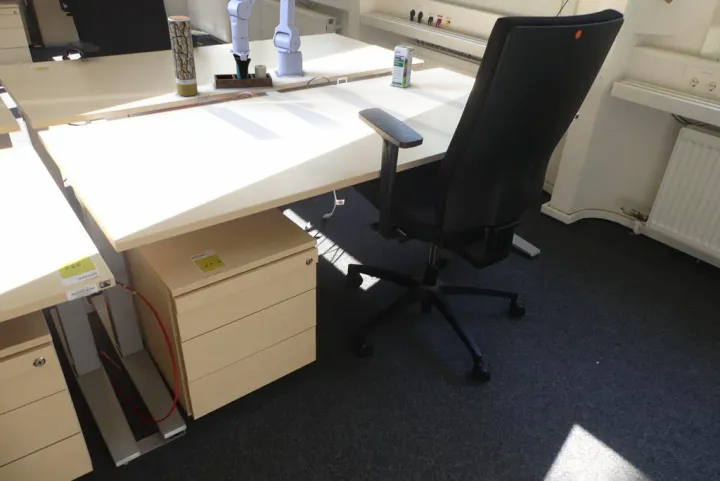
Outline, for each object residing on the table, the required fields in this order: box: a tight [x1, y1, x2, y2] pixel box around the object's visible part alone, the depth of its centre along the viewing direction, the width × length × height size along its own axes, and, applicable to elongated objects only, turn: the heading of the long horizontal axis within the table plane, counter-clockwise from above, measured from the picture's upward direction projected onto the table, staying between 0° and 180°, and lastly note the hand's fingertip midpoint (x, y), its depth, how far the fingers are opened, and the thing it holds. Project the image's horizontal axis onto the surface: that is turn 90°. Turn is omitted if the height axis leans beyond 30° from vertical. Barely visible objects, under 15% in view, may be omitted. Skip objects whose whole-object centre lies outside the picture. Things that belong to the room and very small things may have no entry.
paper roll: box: [235, 62, 250, 79], centre depth 196 cm, size 4×4×6 cm
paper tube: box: [167, 15, 199, 97], centre depth 181 cm, size 7×7×25 cm
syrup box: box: [390, 44, 415, 88], centre depth 206 cm, size 6×6×14 cm
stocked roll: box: [254, 64, 267, 78], centre depth 198 cm, size 4×4×6 cm
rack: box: [213, 72, 273, 90], centre depth 198 cm, size 20×7×4 cm, turn 107°
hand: (242, 75), depth 197 cm, fingers closed on paper roll, 4 cm apart
